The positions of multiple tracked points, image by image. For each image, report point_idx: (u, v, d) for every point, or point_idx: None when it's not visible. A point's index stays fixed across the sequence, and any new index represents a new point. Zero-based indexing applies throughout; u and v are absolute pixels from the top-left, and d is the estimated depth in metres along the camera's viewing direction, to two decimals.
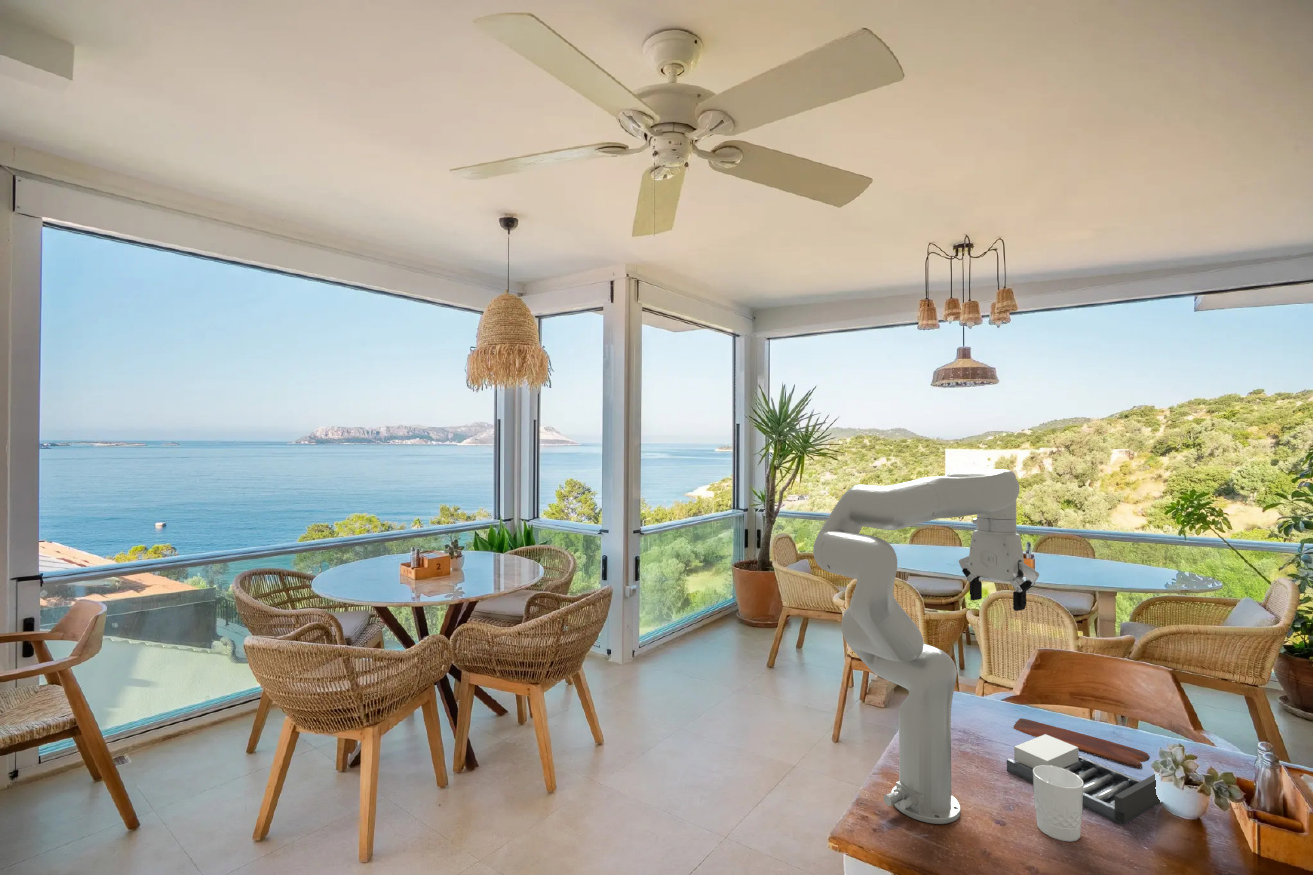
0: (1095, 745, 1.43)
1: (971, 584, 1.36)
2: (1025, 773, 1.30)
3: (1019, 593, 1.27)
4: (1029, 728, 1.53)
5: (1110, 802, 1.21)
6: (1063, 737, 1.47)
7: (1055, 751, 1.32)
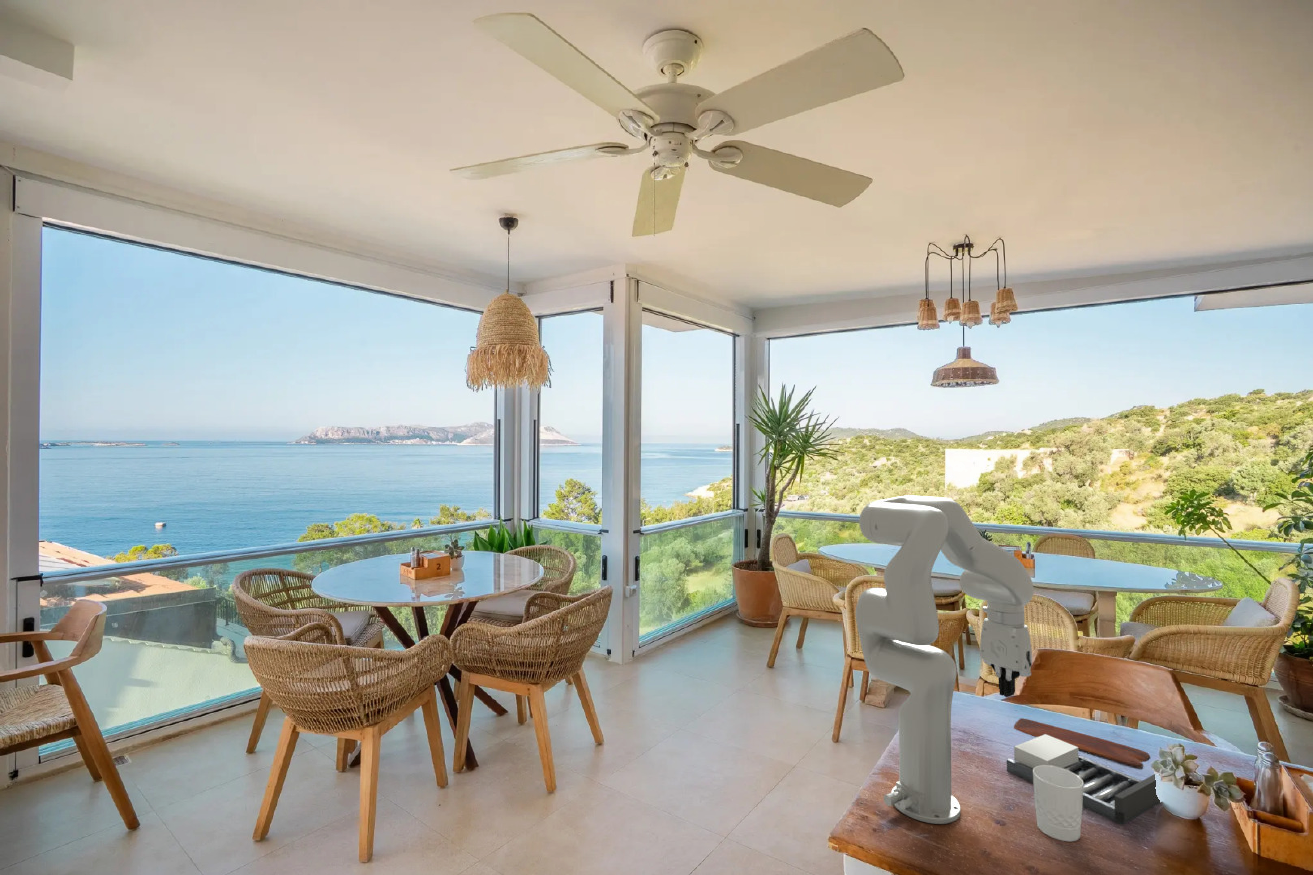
0: (1095, 745, 1.43)
1: (1000, 680, 1.42)
2: (1025, 773, 1.30)
3: (1008, 681, 1.41)
4: (1029, 728, 1.53)
5: (1110, 802, 1.21)
6: (1063, 737, 1.47)
7: (1055, 751, 1.32)
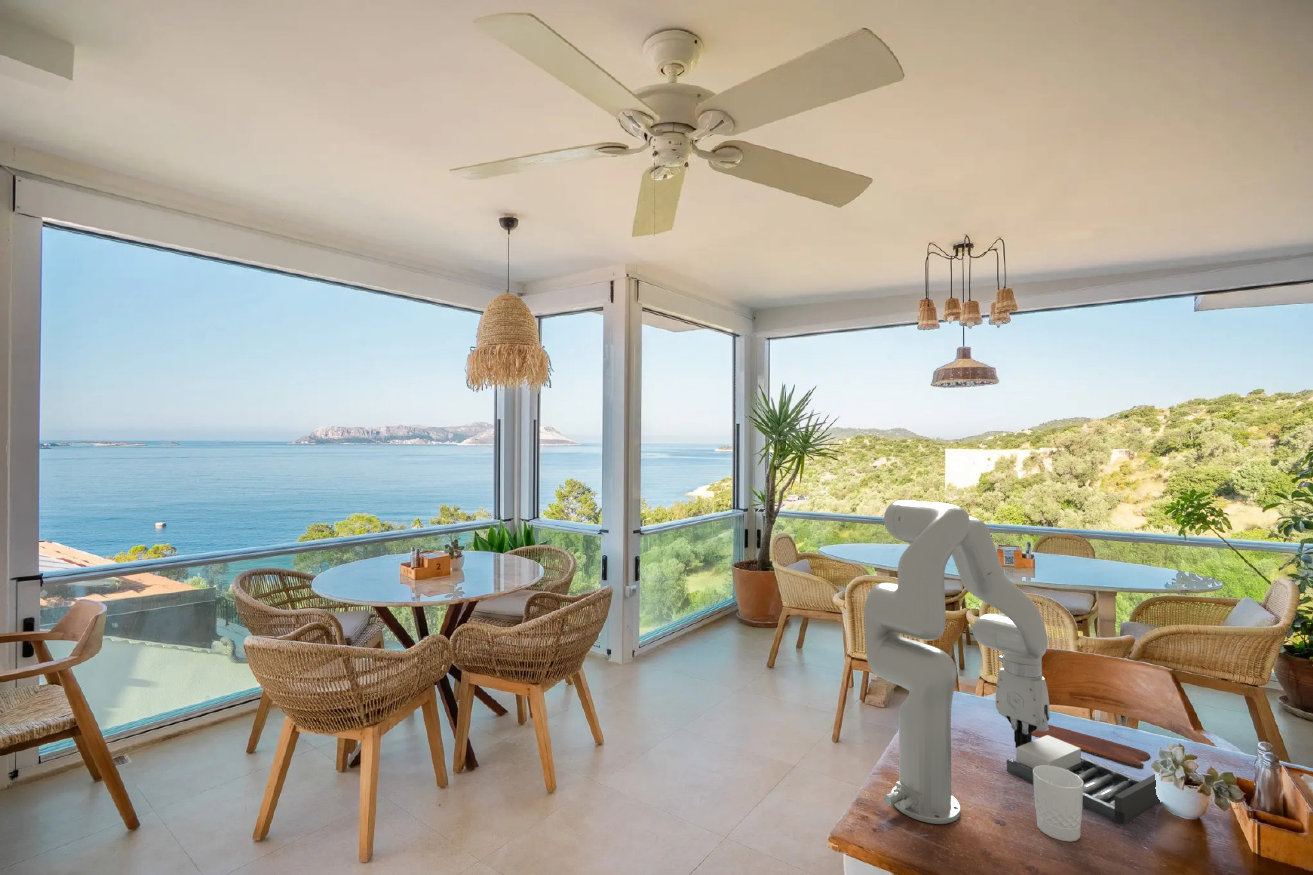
0: (1096, 745, 1.43)
1: (1016, 733, 1.38)
2: (1025, 773, 1.30)
3: (1025, 734, 1.37)
4: None
5: (1110, 802, 1.21)
6: (1064, 737, 1.47)
7: (1057, 752, 1.31)
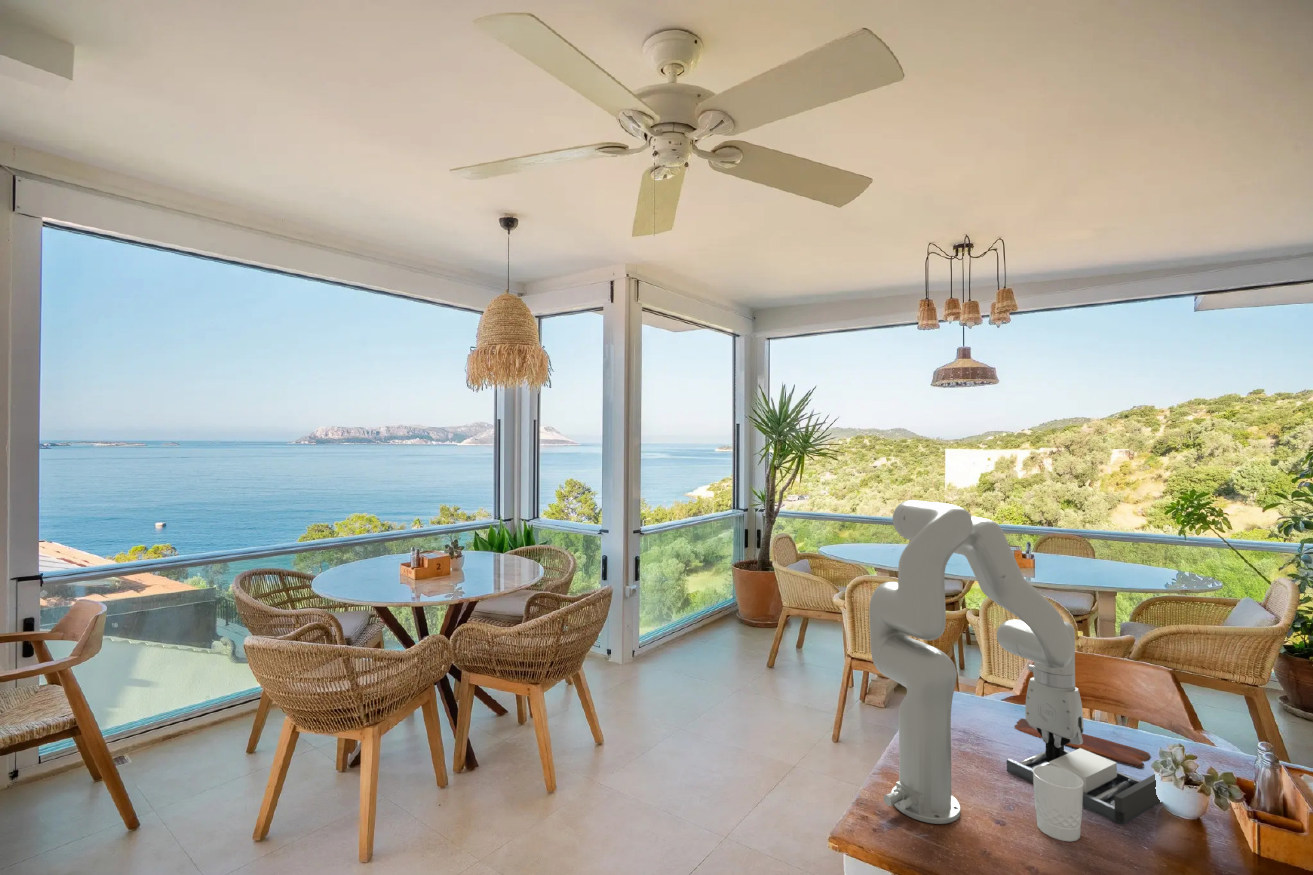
0: (1096, 745, 1.43)
1: (1048, 746, 1.32)
2: (1025, 773, 1.30)
3: (1057, 748, 1.31)
4: (1030, 728, 1.53)
5: (1110, 802, 1.21)
6: None
7: (1093, 767, 1.25)
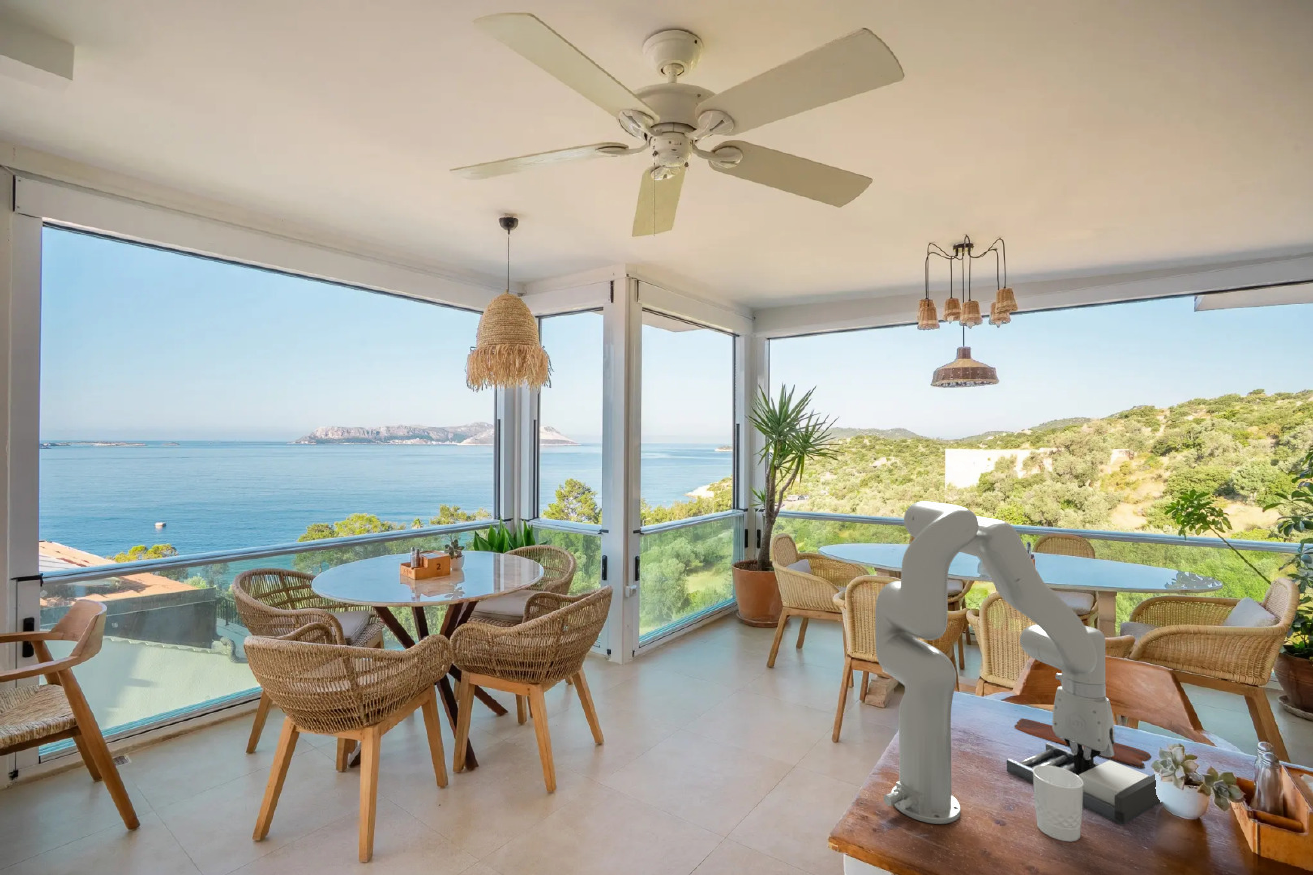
0: None
1: (1077, 758, 1.27)
2: (1025, 773, 1.30)
3: (1087, 760, 1.26)
4: (1030, 728, 1.53)
5: None
6: None
7: (1125, 781, 1.20)
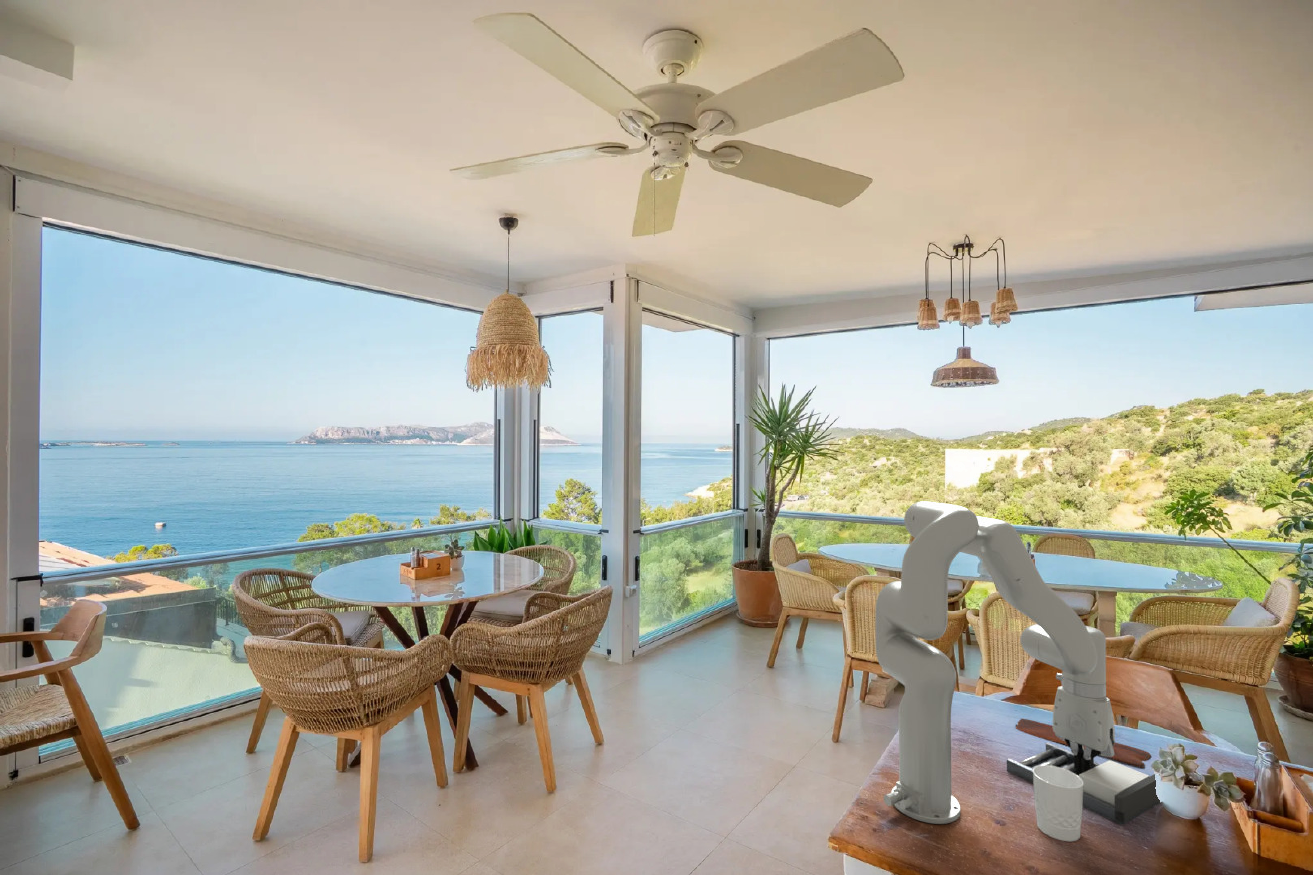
0: None
1: (1077, 758, 1.27)
2: (1025, 773, 1.30)
3: (1087, 760, 1.26)
4: (1031, 728, 1.53)
5: None
6: None
7: (1125, 781, 1.20)
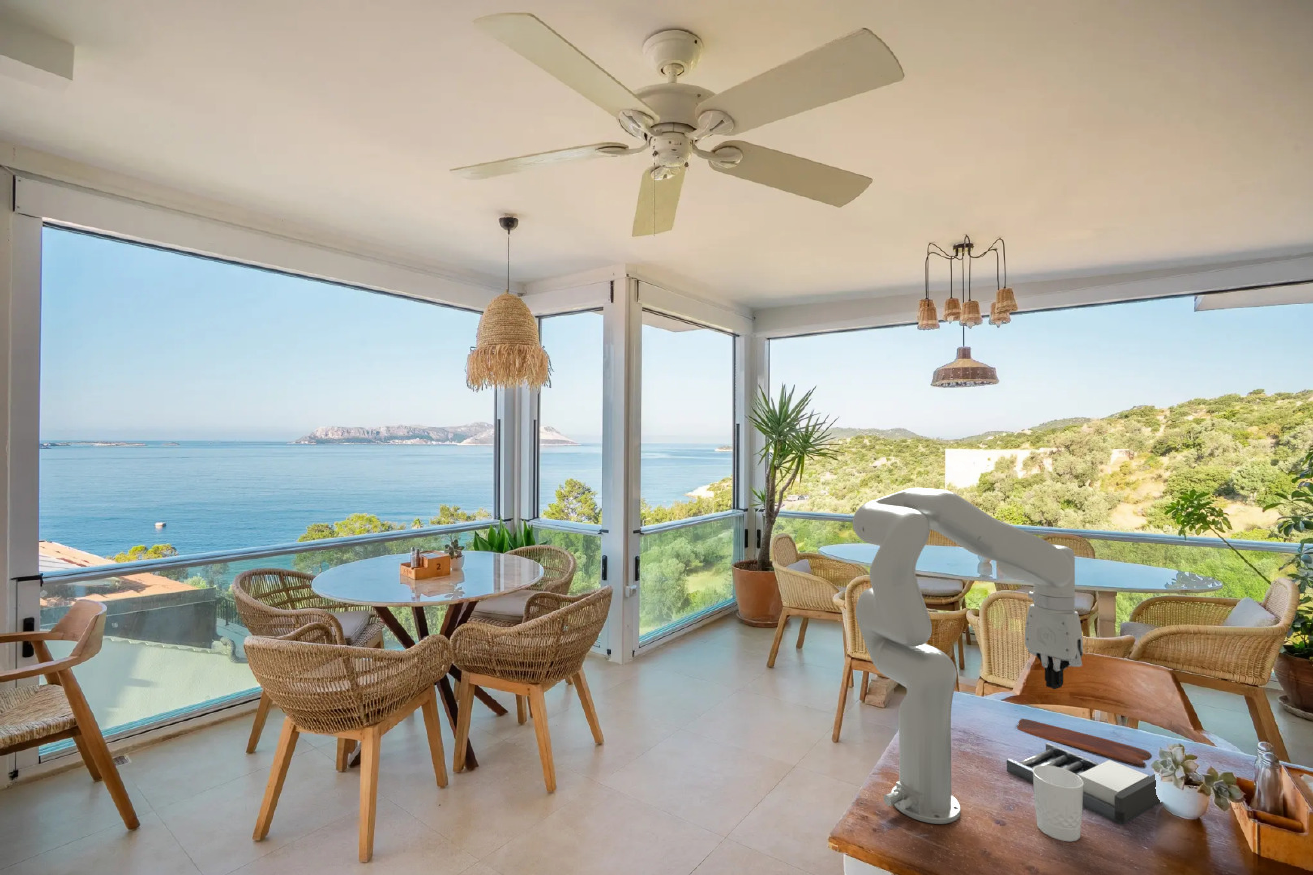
0: (1098, 744, 1.43)
1: (1047, 670, 1.32)
2: (1025, 773, 1.30)
3: (1056, 672, 1.31)
4: (1031, 728, 1.52)
5: None
6: (1065, 737, 1.47)
7: (1124, 780, 1.20)
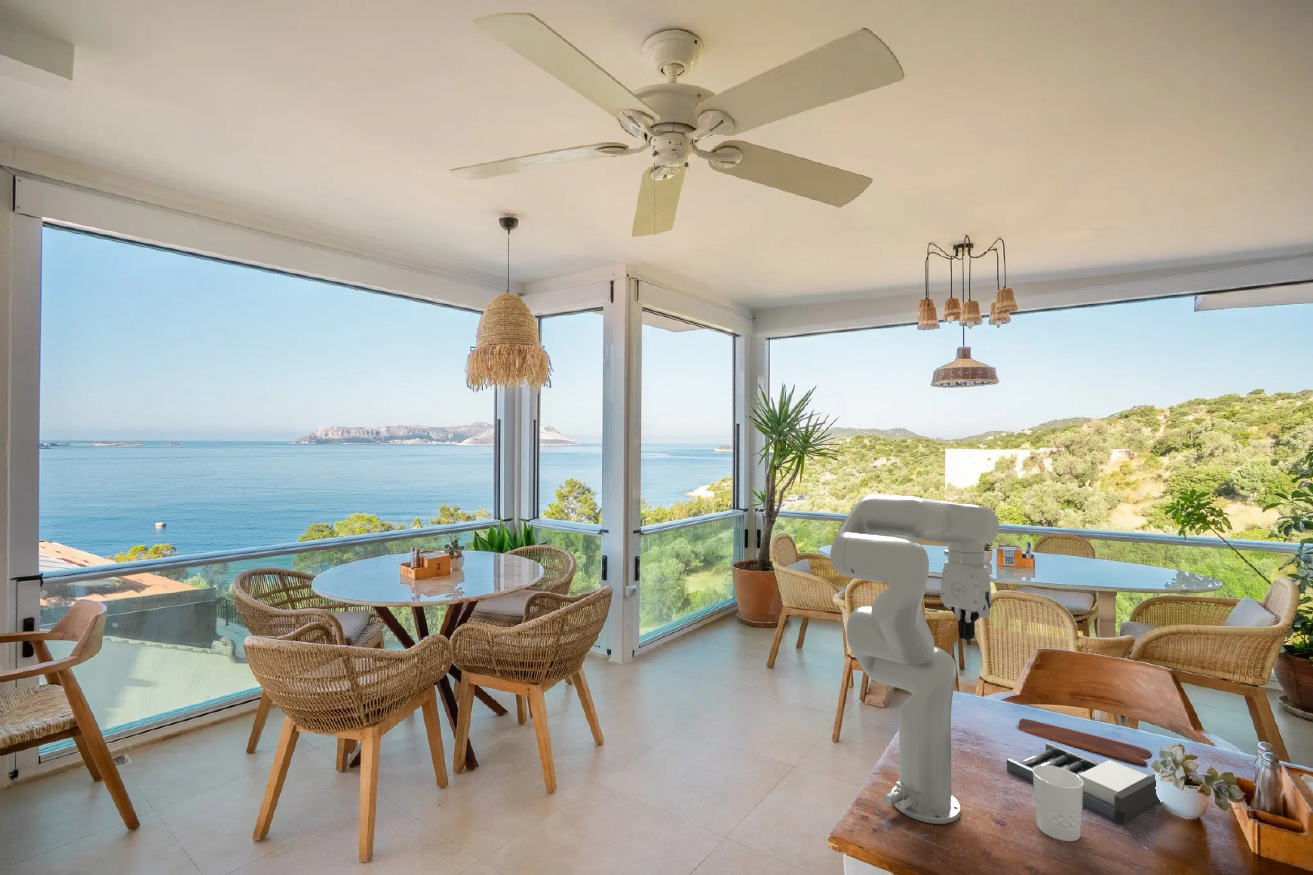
0: (1099, 744, 1.43)
1: (960, 623, 1.40)
2: (1025, 773, 1.30)
3: (968, 623, 1.39)
4: (1032, 728, 1.52)
5: None
6: (1066, 737, 1.47)
7: (1124, 780, 1.20)
